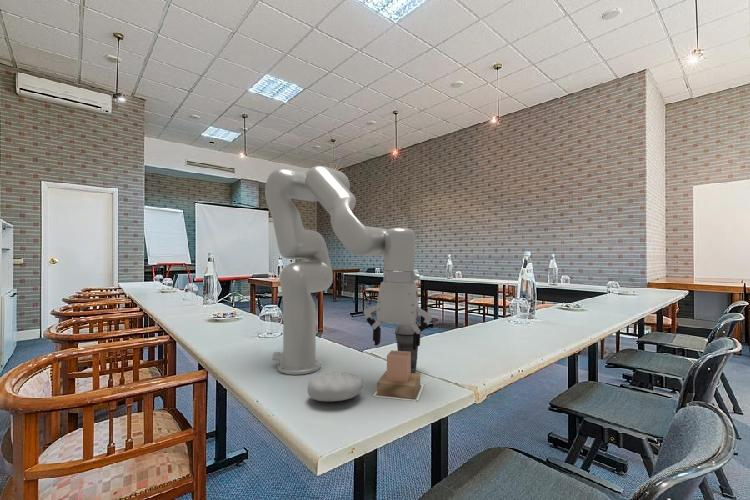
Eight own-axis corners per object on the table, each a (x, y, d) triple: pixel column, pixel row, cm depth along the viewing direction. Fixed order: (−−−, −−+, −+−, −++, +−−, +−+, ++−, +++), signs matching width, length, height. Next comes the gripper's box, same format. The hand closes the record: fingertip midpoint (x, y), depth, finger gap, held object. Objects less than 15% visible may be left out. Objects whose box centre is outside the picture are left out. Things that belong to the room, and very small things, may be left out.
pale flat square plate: (372, 398, 84) (372, 396, 84) (383, 382, 95) (383, 380, 95) (418, 403, 81) (418, 401, 81) (424, 386, 92) (424, 384, 92)
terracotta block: (391, 373, 91) (391, 350, 91) (410, 375, 90) (410, 351, 90) (386, 380, 86) (386, 355, 86) (407, 382, 85) (407, 357, 85)
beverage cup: (419, 378, 97) (419, 305, 98) (393, 376, 99) (393, 304, 99) (421, 370, 104) (421, 302, 105) (396, 368, 106) (396, 301, 106)
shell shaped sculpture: (356, 415, 75) (356, 385, 75) (299, 411, 77) (299, 381, 77) (367, 392, 88) (367, 366, 88) (318, 389, 90) (318, 363, 90)
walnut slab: (377, 395, 85) (377, 382, 85) (386, 382, 93) (386, 370, 93) (414, 399, 82) (414, 386, 82) (420, 385, 91) (420, 373, 91)
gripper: (435, 278, 90) (432, 346, 90) (369, 274, 94) (367, 339, 94) (431, 281, 83) (428, 354, 83) (360, 276, 87) (358, 346, 87)
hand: (396, 346), depth 89 cm, fingers open, 9 cm apart
